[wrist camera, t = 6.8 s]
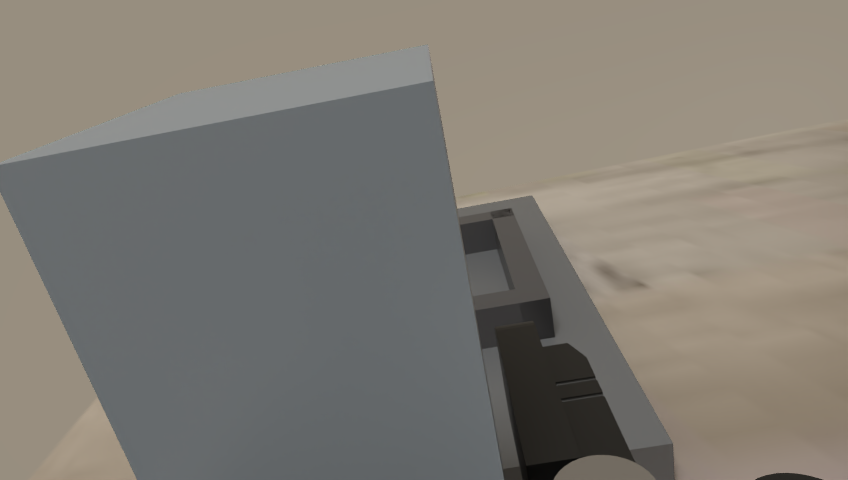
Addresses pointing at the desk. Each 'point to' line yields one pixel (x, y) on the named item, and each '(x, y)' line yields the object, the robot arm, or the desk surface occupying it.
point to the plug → (270, 278)
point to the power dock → (549, 322)
